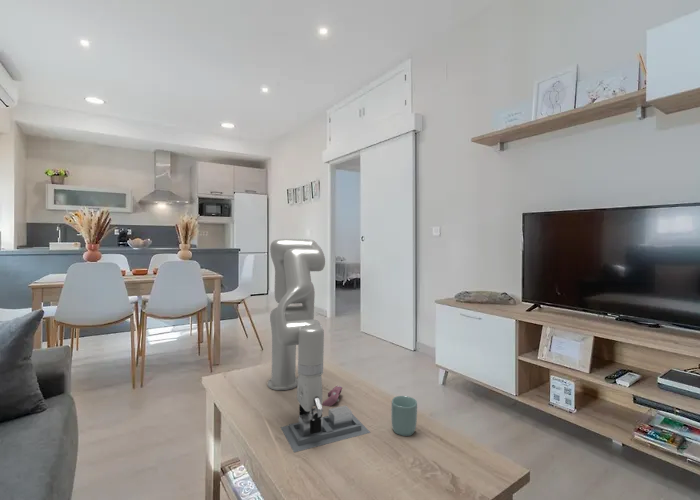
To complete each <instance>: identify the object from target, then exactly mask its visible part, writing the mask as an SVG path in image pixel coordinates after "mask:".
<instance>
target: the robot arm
mask: <svg viewBox="0 0 700 500" xmlns="http://www.w3.org/2000/svg"><path fill="white" fill-rule="evenodd" d="M269 253H270V257H271V260H272V263H273V266H274V299H275V302H276V304H277V303H278V304H277V307H276V308H273V309H272V310H271V312H270V313H269V314H270V315H269V320H270V321H269V322H270V328H271V378H270V379H268V381H267V387H268V388H269V389H271V390H275V391H288V390H289V391H290V390H292V389H295V388H297V390H296V400H297V402H298V403H299V407H298V409H299V411H298V412H299V415H303V414H307V413H310V414H311V420H310V433H311V434H314V433H318V432H321V419H322V417H323V411H324V410H323V405H322V403H323V381H322V380H323V379H322V375H323V374H324V351H325V350H324V346H325V345H324V343H325V331H324V329H323V325H322V324H321V323H320V321H319V320H317V319H315V296H316V294H315V287H314V284H313V282H312V278H311V272H321V271H323V270H324V268H325V265H326V257H325V254H324V251H323V249H322V248H321V246H320V245H319V244H318V243H317V242H316V241H315V240H313V239H303V238H302V239H301V238H298V239H297V238H279V239H275V240H273V241H272V242H271V243H270V249H269ZM290 304H291V305H290ZM292 304H294V305H292ZM295 304H302V305H295ZM297 346H298V348H297ZM296 351H297V353H296ZM297 354H298V355H297ZM296 356H297V357H296ZM296 358H297V362H296ZM296 363H297V366H296ZM296 367H297V368H296ZM296 369H297V370H296ZM296 371H297V375H298V376H296ZM316 411H317V413H315V415H314V414H313V412H316ZM299 415H298V416H299Z"/></svg>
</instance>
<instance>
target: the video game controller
mask: <svg viewBox="0 0 700 500" xmlns="http://www.w3.org/2000/svg"><path fill="white" fill-rule="evenodd" d="M342 392H343V387H342V386H340V385H335V387H333V388H332V389H330V390H329V391H328V393H327V399H325V400H324V401H322V407H323V406H324V407H332V406H333V405H335V404H336V403H338V402H339V401H340V398H339V396H340V395H341V394H342Z"/></svg>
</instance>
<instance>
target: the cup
mask: <svg viewBox="0 0 700 500" xmlns="http://www.w3.org/2000/svg"><path fill="white" fill-rule="evenodd" d="M390 411H391V413H390V415H391V418H390V419H391V428H392V430H393V433H395V434H397V435H399V436H402V437H409V436H412V435H413V434H414V433H415V431H416V428H417V421H418V402H417V400H416V399H415V398H413V397H411V396H406V395H398V396H397V395H396V396H395V397H393V398H392V400H391V410H390Z"/></svg>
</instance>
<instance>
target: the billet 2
mask: <svg viewBox="0 0 700 500" xmlns="http://www.w3.org/2000/svg"><path fill="white" fill-rule="evenodd" d="M352 414H353V411H352V410H351V409H350V408H349V407H348V406H347V405H342V406H341V405H340V406H337V407H333V408H328V416H329V417H328V425H329V426H330V427H331V428H332V430H337V429H341V428H345V427H349V426H352Z"/></svg>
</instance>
